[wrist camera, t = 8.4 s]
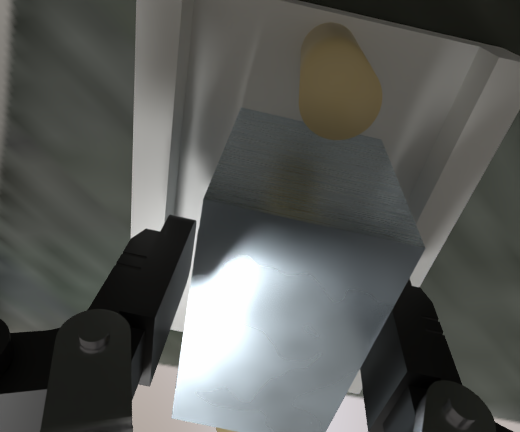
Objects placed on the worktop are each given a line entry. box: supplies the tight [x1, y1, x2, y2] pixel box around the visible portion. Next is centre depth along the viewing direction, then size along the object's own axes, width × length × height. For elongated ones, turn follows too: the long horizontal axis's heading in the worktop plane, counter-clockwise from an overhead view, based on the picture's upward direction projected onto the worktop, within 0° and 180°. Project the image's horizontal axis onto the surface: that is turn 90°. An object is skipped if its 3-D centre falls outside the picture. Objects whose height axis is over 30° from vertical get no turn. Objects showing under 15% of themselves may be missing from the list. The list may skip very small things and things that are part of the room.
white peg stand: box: [131, 0, 520, 432], centre depth 12 cm, size 12×9×5 cm
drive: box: [172, 107, 426, 432], centre depth 11 cm, size 7×4×5 cm, turn 168°
